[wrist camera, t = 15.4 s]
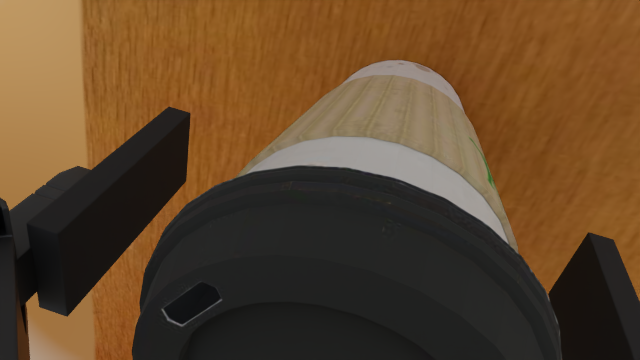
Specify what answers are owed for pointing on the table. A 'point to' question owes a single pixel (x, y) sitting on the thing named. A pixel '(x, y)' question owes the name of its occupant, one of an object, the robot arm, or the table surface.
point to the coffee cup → (351, 243)
